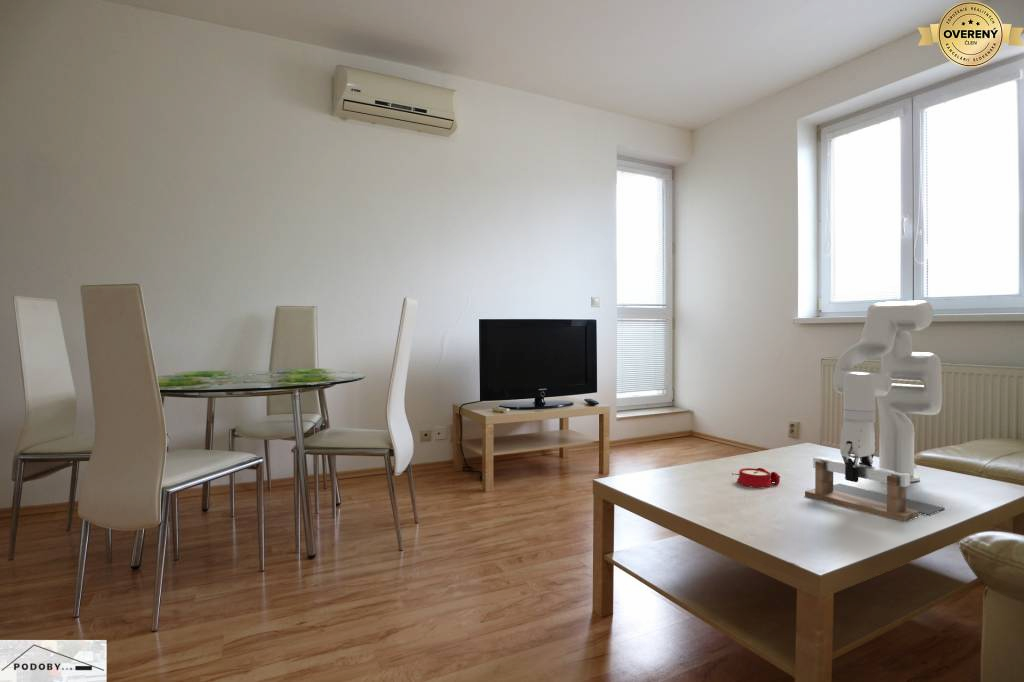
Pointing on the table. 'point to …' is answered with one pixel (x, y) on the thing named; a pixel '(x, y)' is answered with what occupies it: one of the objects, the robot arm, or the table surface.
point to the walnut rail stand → (891, 509)
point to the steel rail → (865, 471)
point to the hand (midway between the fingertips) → (858, 478)
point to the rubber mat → (881, 497)
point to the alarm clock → (757, 477)
